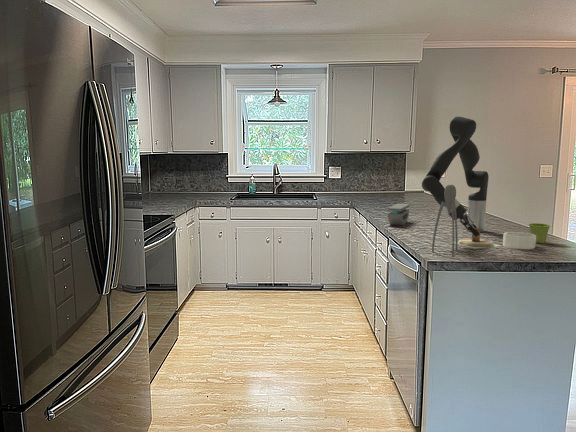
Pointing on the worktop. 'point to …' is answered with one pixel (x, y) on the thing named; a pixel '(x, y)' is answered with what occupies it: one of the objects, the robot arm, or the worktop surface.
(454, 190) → the citrus juicer
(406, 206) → the grey lidded container
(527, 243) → the bowl
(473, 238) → the lid
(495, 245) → the mat
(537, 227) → the plant pot
